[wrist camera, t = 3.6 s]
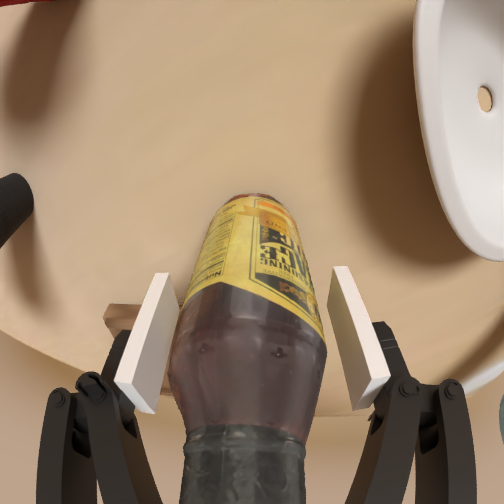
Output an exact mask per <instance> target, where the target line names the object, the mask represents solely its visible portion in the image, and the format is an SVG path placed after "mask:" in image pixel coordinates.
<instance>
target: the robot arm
mask: <svg viewBox="0 0 504 504" xmlns="http://www.w3.org/2000/svg"><path fill="white" fill-rule="evenodd" d="M327 308H328V312H329V315H330V319H331V323H332V326H333V330H334V334H335V338H336V341H337V345H338V349H339V353H340V357H341V361H342V365H343V369H344V373H345V378H346V382H347V386H348V391H349V395H350V400H351V404H352V409H353V411H354V410H359V409H364V408H369V407H370V406H371V404H372V403H374V407H375V410H374V411H373V413H372V414H371V415H370V417H369V419H368V421H370V420H371V423H370V427H369V431H368V435H367V439H366V442H365V446H364V450H363V453H362V456H361V460H360V463H359V466H358V469H357V472H356V475H355V478H354V481H353V483H352V486H351V489H350V491H349V494H348V497H347V499H346V502H345V504H402V501H403V497H404V494H405V490H406V487H407V483H408V479H409V475H410V471H411V466H412V462H413V457H414V452H415V461H416V462H415V464H416V491H415V492H416V493H415V504H477V487H476V486H477V484H476V465H475V454H474V445H473V438H472V431H471V424H470V419H469V413H468V408H467V403H466V399H465V394H464V390H463V388H462V385H461V384H460V383H459V382H458V381H456V380H454V379H447V380H444V381H443V382H442V383H441V384H440V385H426V384H421V383H419V381H418V380H416V379H415V378H413V377H411V375H410V373H409V371H408V369H407V366H406V364H405V361H404V359H403V356H402V354H401V351H400V349H399V347H398V344H397V341H396V340H395V337H394V334H393V332H392V330H391V328H390V327H389V326H388V325H387V324H386V323H385V322H384V321H382V322H374V323H371V320H370V318H369V315H368V313H367V311H366V308H365V306H364V303H363V301H362V299H361V296H360V294H359V291H358V289H357V287H356V285H355V282H354V280H353V278H352V275H351V273H350V271H349V269H348V267H347V266H337V267H333V271H332V278H331V284H330V290H329V296H328V302H327ZM179 313H180V309H179V305H178V302H177V299H176V295H175V292H174V288H173V285H172V281H171V278H170V274H169V273H156V274H155V276H154V278H153V280H152V283H151V285H150V287H149V290H148V292H147V294H146V297H145V299H144V302H143V304H142V306H141V309H140V311H139V314H138V316H137V319H136V321H135V324H134V326H133V329H132V330H122V331H121V332H120V333H119V334H118V335H117V336H116V337H115V340H114V342H113V345H112V348H111V350H110V352H109V355H108V357H107V360H106V362H105V365H104V368H103V370H102V373H101V376H100V375H99V374H98V373H96V372H86V373H84V374H82V375H81V376H80V377H79V378H78V380H77V382H76V386H75V388H76V389H77V390H78V391H79V393H70V392H69V391H67V390H66V389H65V388H62V387H61V388H56V389H55V390H53V391H52V392H51V393H50V395H49V398H48V402H47V407H46V412H45V416H44V422H43V428H42V434H41V441H40V449H39V457H38V469H37V484H36V504H97V480H98V484H99V488H100V492H101V496H102V500H103V503H104V504H163V503H162V501H161V498H160V495H159V492H158V490H157V487H156V484H155V481H154V478H153V476H152V473H151V469H150V466H149V463H148V461H147V457H146V454H145V450H144V446H143V443H142V439H141V435H140V431H139V427H138V423H137V419H136V416H135V414H134V409H135V407H136V408H137V409H138V410H139V411H140V412H144V413H151V414H156V409H157V404H158V399H159V395H160V390H161V386H162V381H163V377H164V373H165V368H166V364H167V360H168V356H169V352H170V347H171V343H172V339H173V335H174V332H175V328H176V324H177V320H178V316H179ZM499 423H500V430H501V436H502V440H503V443H504V395H503V397H502V399H501V403H500V410H499Z"/></svg>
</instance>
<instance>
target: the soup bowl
mask: <svg viewBox="0 0 504 504" xmlns="http://www.w3.org/2000/svg"><path fill="white" fill-rule="evenodd" d="M413 67H414V79H415V91H416V99H417V107H418V114H419V120H420V127H421V134H422V138H423V143H424V148H425V153H426V158H427V162H428V166H429V170H430V174H431V177H432V180H433V184H434V187H435V190H436V193H437V196H438V199H439V201H440V204H441V207H442V209H443V211H444V213H445V215H446V217H447V220H448V222H449V223H450V225H451V227H452V228H453V230H454V232H455V233H456V235H457V236H458V237H459V239H460V240H461V241H462V243H463V244H464V245H465V246H466V247H467V248H468V249H469V250H471V251H472V252H473V253H475V254H476V255H478V256H480V257H482V258H484V259H487V260H491V261H498V262H501V261H504V0H416V4H415V11H414V21H413ZM481 86H485V87H487V88H488V89H489V91H490V93H491V95H492V100H493V104H492V108H491V110H490V111H489V112H484V111H483V110H482V109H481V108H480V105H479V103H478V90H479V88H480V87H481Z"/></svg>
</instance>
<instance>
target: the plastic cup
mask: <svg viewBox="0 0 504 504" xmlns="http://www.w3.org/2000/svg"><path fill="white" fill-rule="evenodd" d="M39 1H53V0H0V7H2V6H8V5H15V4H24V3H29V2H39Z"/></svg>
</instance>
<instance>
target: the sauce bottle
mask: <svg viewBox="0 0 504 504" xmlns="http://www.w3.org/2000/svg"><path fill="white" fill-rule="evenodd" d="M326 358H327V347H326V342H325V338H324V333H323V326H322V322H321V319H320V315H319V311H318V305H317V301H316V298H315V293H314V288H313V284H312V281H311V277H310V273H309V268H308V264H307V261H306V258H305V254H304V250H303V247H302V243H301V239H300V236H299V232H298V228H297V225H296V223H295V221H294V219H293V217H292V216H291V214H290V213H289V211H288V210H287V209H286V208H285V207H284V206H283V205H282V204H281V203H280V202H278V201H277V200H275V199H274V198H273V197H271V196H269V195H264V194H259V193H258V194H254V193H251V194H243V195H238V196H235V197H233V198H231V199H230V200H229V201H228V202H227V203H225V204H224V206H222V207H221V209H219V210H218V211H217V213H216V214H215V216H214V218H213V219H212V222H211V224H210V227H209V229H208V232H207V235H206V238H205V240H204V243H203V246H202V249H201V252H200V255H199V258H198V261H197V264H196V267H195V270H194V273H193V276H192V279H191V282H190V285H189V288H188V291H187V294H186V297H185V300H184V303H183V306H182V310H181V313H180V318H179V327H178V332H177V336H176V340H175V342H174V345H173V346H172V352H171V356H170V361H169V369H168V372H167V376H168V380H169V385H170V388H171V391H172V393H173V395H174V397H175V401H176V403H177V405H178V408H179V410H180V412H181V414H182V417H183V420H184V425H185V427H186V435H187V438H186V443H185V444H184V446H183V450H184V451H183V452H184V456H185V460H184V469H183V477H182V484H181V492H180V500H179V504H306V489H305V473H304V459H305V456H306V450H305V444H306V441H307V438H308V435H309V431H310V428H311V424H312V420H313V416H314V412H315V408H316V404H317V400H318V396H319V391H320V387H321V382H322V378H323V373H324V368H325V363H326Z"/></svg>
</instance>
